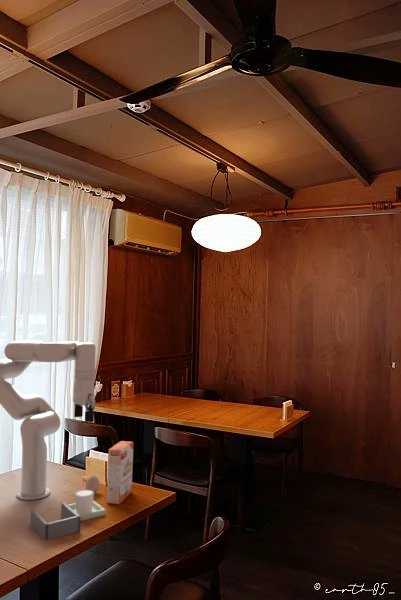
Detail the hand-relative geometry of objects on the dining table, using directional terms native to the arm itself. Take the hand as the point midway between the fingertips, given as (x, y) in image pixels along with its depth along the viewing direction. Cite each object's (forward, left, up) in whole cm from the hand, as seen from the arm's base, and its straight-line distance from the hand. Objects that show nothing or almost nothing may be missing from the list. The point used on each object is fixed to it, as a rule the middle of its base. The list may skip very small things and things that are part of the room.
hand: (83, 419), depth 190 cm
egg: (-7, +8, -32) cm, 34 cm away
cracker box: (+3, +15, -32) cm, 36 cm away
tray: (+9, -3, -32) cm, 34 cm away
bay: (+15, -16, -32) cm, 39 cm away
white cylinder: (+9, -3, -32) cm, 33 cm away
